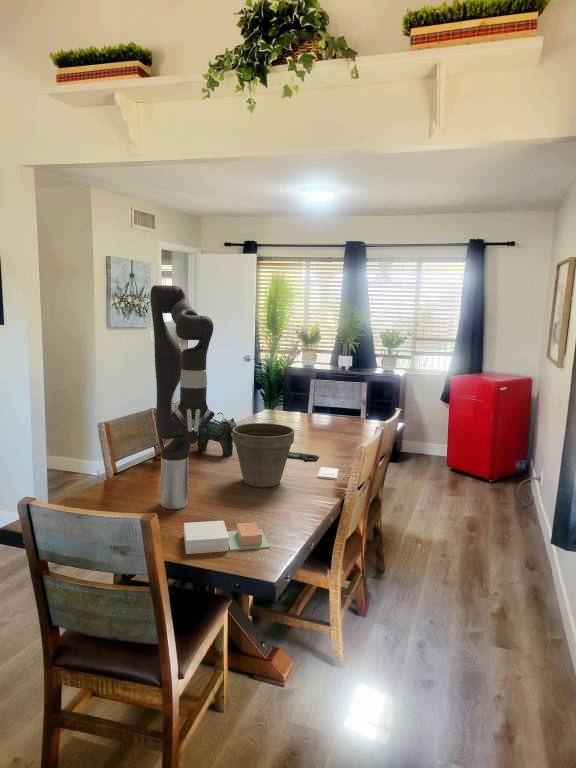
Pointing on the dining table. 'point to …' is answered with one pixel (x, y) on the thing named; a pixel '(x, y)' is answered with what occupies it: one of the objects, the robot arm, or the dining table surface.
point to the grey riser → (205, 537)
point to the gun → (303, 456)
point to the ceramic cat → (217, 435)
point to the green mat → (235, 545)
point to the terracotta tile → (249, 534)
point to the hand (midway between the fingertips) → (192, 443)
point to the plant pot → (262, 451)
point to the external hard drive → (328, 473)
